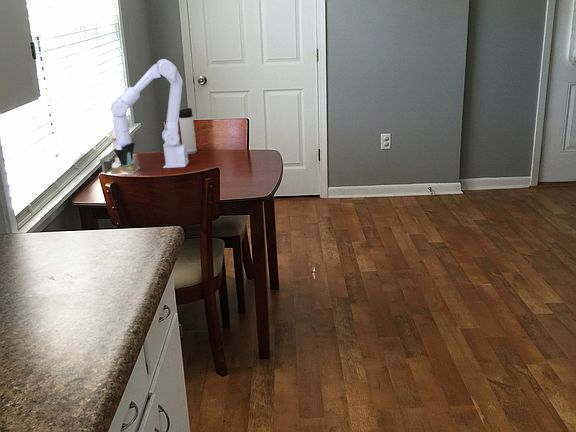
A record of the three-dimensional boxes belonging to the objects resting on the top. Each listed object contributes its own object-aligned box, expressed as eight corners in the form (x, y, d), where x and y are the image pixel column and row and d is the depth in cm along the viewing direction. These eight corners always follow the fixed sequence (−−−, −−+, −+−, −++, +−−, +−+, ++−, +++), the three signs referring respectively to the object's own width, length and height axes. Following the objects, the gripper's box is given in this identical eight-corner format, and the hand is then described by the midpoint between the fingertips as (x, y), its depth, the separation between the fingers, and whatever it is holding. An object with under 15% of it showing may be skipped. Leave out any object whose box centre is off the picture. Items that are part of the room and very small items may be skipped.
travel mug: (200, 151, 298) (195, 108, 292) (191, 154, 293) (185, 110, 287) (189, 150, 302) (184, 107, 295) (180, 153, 297) (175, 110, 290)
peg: (132, 168, 272) (130, 152, 270) (130, 170, 269) (127, 154, 267) (125, 168, 272) (122, 152, 270) (122, 170, 269) (120, 154, 267)
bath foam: (113, 161, 291) (106, 117, 284) (128, 159, 294) (122, 115, 288) (118, 164, 285) (111, 119, 279) (133, 161, 288) (127, 117, 282)
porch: (140, 168, 275) (137, 152, 273) (133, 174, 266) (130, 158, 264) (110, 170, 276) (107, 154, 274) (102, 176, 267) (99, 159, 265)
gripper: (118, 127, 272) (123, 159, 277) (106, 135, 259) (112, 167, 263) (134, 126, 272) (139, 158, 276) (123, 134, 258) (129, 167, 263)
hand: (127, 163), depth 270 cm, fingers open, 7 cm apart
